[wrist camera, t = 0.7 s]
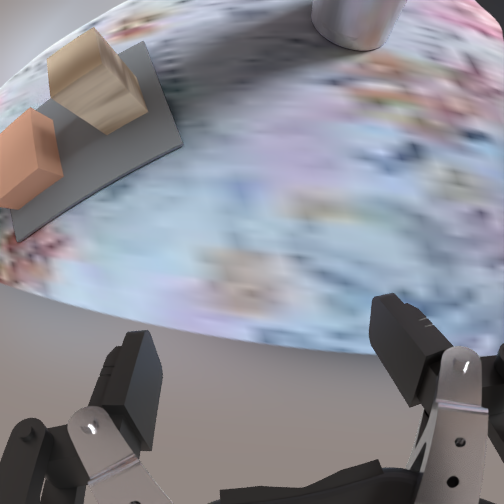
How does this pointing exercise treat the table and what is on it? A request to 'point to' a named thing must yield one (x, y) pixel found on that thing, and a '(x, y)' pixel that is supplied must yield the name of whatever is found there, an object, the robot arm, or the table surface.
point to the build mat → (101, 148)
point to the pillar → (95, 83)
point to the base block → (28, 159)
